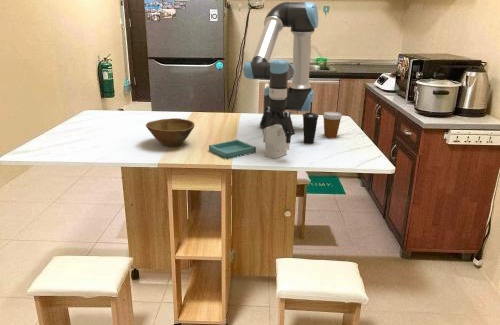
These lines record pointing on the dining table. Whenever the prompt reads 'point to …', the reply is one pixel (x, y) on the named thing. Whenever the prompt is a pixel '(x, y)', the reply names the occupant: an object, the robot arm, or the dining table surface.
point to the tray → (232, 149)
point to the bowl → (170, 130)
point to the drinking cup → (309, 126)
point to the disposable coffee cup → (331, 124)
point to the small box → (274, 141)
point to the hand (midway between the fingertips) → (275, 146)
